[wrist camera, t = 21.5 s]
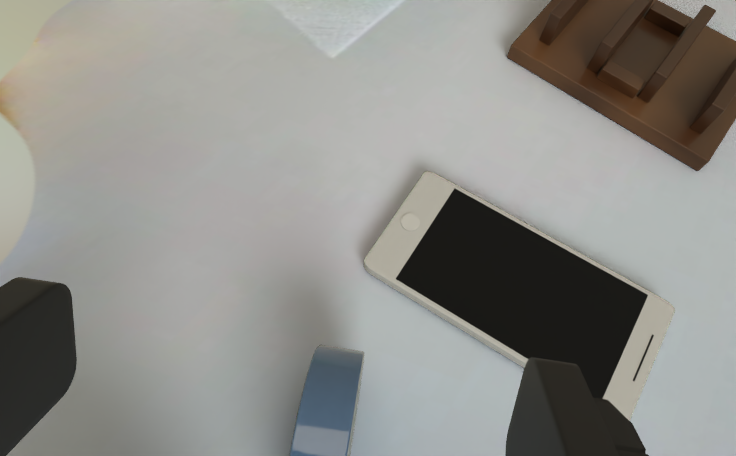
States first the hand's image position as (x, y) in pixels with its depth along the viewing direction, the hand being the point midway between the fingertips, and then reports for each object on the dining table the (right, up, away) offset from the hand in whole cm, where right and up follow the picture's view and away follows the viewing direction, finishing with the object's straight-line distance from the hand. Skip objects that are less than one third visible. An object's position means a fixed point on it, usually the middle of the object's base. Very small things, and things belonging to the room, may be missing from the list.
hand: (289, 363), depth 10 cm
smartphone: (+9, -1, +21) cm, 23 cm away
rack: (+19, +13, +28) cm, 36 cm away
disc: (0, -7, +14) cm, 15 cm away
